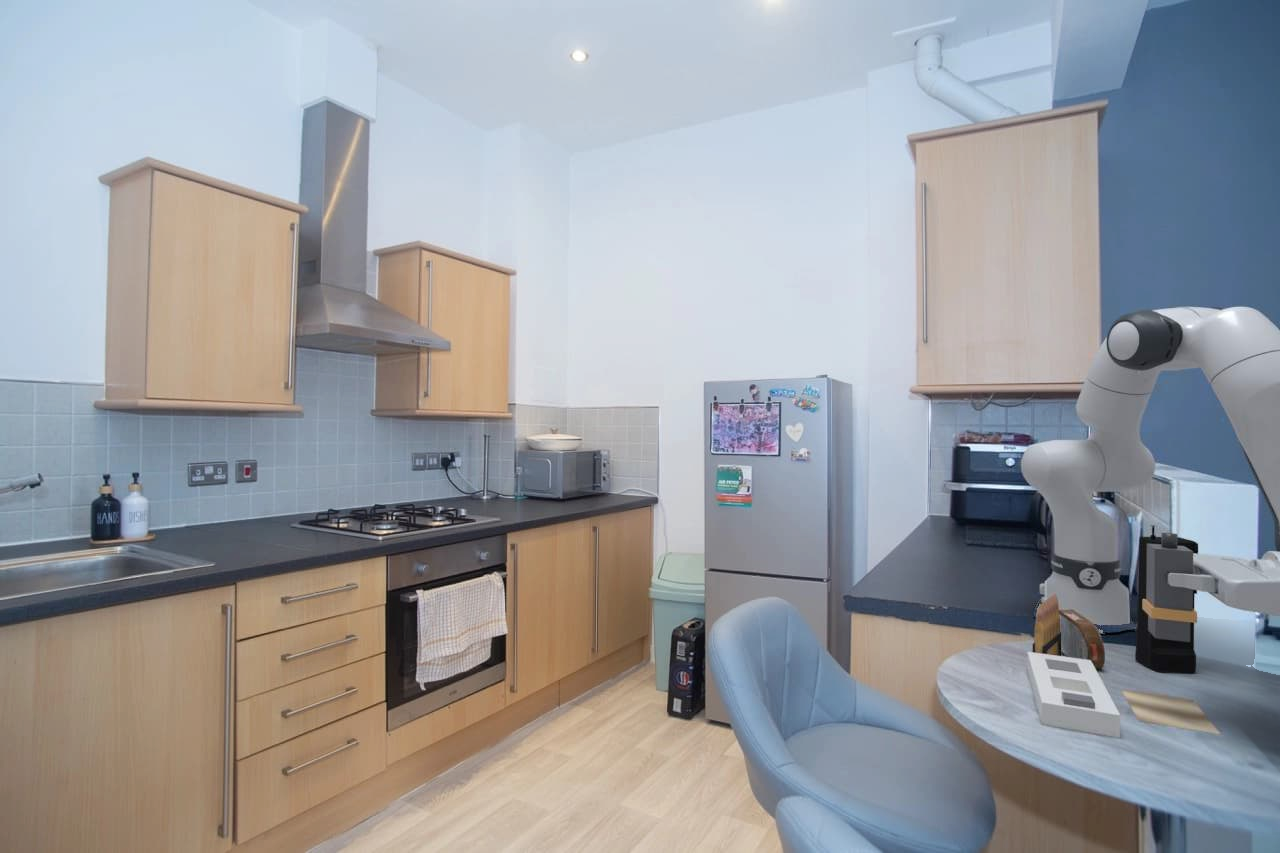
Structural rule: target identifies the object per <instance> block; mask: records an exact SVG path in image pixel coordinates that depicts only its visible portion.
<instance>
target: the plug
mask: <svg viewBox="0 0 1280 853" xmlns="http://www.w3.org/2000/svg"><path fill="white" fill-rule="evenodd" d="M1161 537H1162V544H1147V583H1146V599H1142V609H1143V610H1144V611H1145V612H1146V613H1147V614H1148V631H1149V632H1150V633H1151V634H1152V635H1153V636H1154V637H1155V638H1158V639H1167V640H1175V641H1184V642H1190V622H1193V623H1194V624H1198V612H1197V611H1196V610H1195V608H1194V609H1193V589H1189V588H1185V587H1176V586H1171V585H1169V584H1168V583H1167V582H1166V573H1167V572H1181V573H1183V574H1193V551H1192V550H1190V549H1188V548H1186V547H1185V546H1177V537H1178V533H1174V532H1161Z"/></svg>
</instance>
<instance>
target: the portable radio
mask: <svg viewBox="0 0 1280 853" xmlns="http://www.w3.org/2000/svg"><path fill="white" fill-rule="evenodd" d="M1150 527H1151V534H1150V535H1149V536H1139V539H1138V544H1139V545H1138V576H1137V577H1138V583H1137V584H1138V586H1137V612H1136V613H1137V615H1136V623H1137V630H1136V638H1135V639H1136V640H1135V654H1134V655H1135V661H1136V662H1137V663H1140V665H1143V666H1145V667H1146V668H1148V669H1150V670H1153V671H1155V670H1156V672H1158V671H1159V673H1173V672H1185V673H1184V674H1195V673H1196V670H1197V654H1196V651H1195V623H1193V622H1190V642H1184V641H1175V640H1167V639H1158V638H1155V637H1154V636H1153V635H1152V634H1151V633H1150V632H1149V631H1148V614H1147V613H1146V612H1145V611H1144V610H1143V609H1142V599H1146V583H1147V544H1162V536H1156V535H1155V527H1156V525H1153V524H1151V525H1150ZM1177 546H1185V547H1186V548H1188V549H1190V550H1192V551H1193V553H1196V554H1199V543H1198V542H1197V541H1194V540H1192V539H1188V538H1184V537H1179V536H1177ZM1197 594H1198V590H1194V589H1193V609H1194V610H1195V598H1196V596H1195V595H1197Z"/></svg>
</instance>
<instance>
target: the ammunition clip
mask: <svg viewBox="0 0 1280 853" xmlns="http://www.w3.org/2000/svg"><path fill="white" fill-rule="evenodd" d="M1034 625H1035V626H1034V634H1033V635H1034V636H1033V637H1034V638H1033V639H1034V640H1033V641H1034V642H1032V652H1034V653H1041V654H1049V655H1056V656H1062V653H1061V632H1060V617H1059V605H1058V599H1057V596H1056V594H1054V595H1053V596H1051V598H1048V600H1045V602H1042V604H1039V606H1038V608H1037V613H1036V618H1035V624H1034Z"/></svg>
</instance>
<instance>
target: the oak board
mask: <svg viewBox="0 0 1280 853" xmlns="http://www.w3.org/2000/svg"><path fill="white" fill-rule="evenodd" d="M1120 691H1121V693H1122V694H1123V696H1124V698H1125V700H1126V702H1127V703H1128V704H1129V706H1130V708H1131V710H1132V711H1133V713H1134V714H1135V716H1136V718H1137V719H1138V721H1139V722H1142V723H1148V724H1154V725H1159V726H1167V727H1170V728H1171V727H1173V728H1179V729H1185V730H1191V731H1197V732H1203V733H1209V734H1213V735H1214V734H1216V735H1222V734H1221V732H1220V731H1219V730H1218V728H1217V727H1216V726H1215V725H1214V724H1213V722H1212V721H1211V720H1210V719H1209V718H1208V716H1207V715H1206V714H1205V713H1204V712H1203V710H1202V709H1201V708H1200V706H1198V705H1197V703H1196V702H1195V701H1194V699H1190V698H1183V697H1179V696H1178V697H1176V696H1169V695H1163V694H1156V693H1150V692H1143V691H1137V690H1136V691H1135V690H1128V689H1123V688H1120Z"/></svg>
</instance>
